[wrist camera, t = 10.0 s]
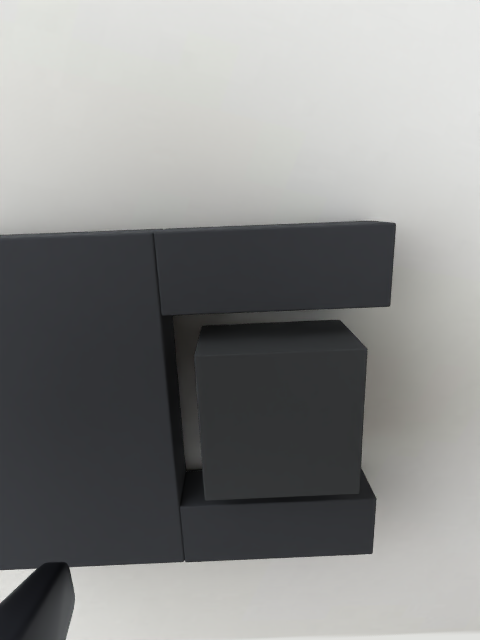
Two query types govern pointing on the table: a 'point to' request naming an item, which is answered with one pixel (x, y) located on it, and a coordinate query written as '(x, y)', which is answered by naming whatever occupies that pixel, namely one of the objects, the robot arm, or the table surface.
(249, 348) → the black block
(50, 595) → the robot arm
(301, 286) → the dark gray pronged block
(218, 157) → the table surface
